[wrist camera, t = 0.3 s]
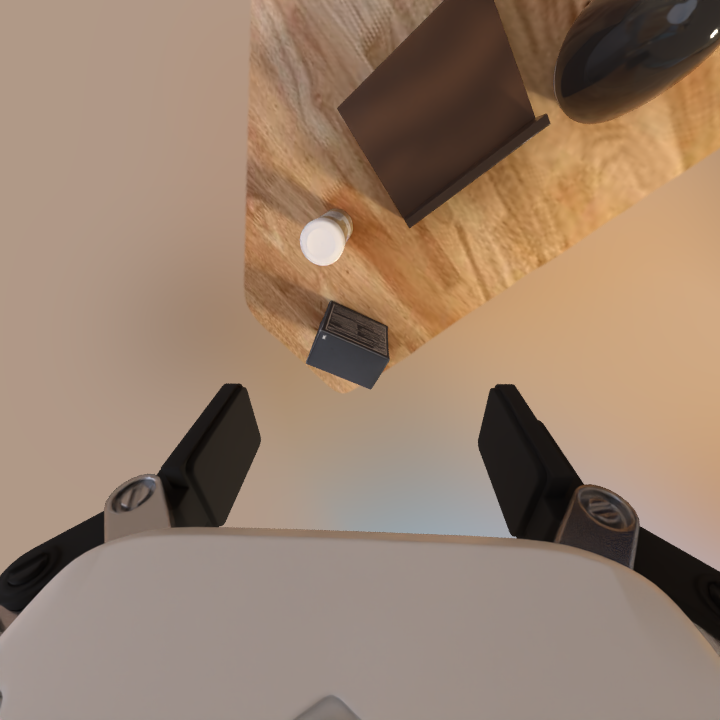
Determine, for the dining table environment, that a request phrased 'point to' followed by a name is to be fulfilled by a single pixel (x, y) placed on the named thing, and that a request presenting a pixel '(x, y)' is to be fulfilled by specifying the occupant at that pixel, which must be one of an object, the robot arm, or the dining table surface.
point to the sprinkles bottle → (326, 237)
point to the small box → (350, 346)
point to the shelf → (442, 107)
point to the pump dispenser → (631, 54)
